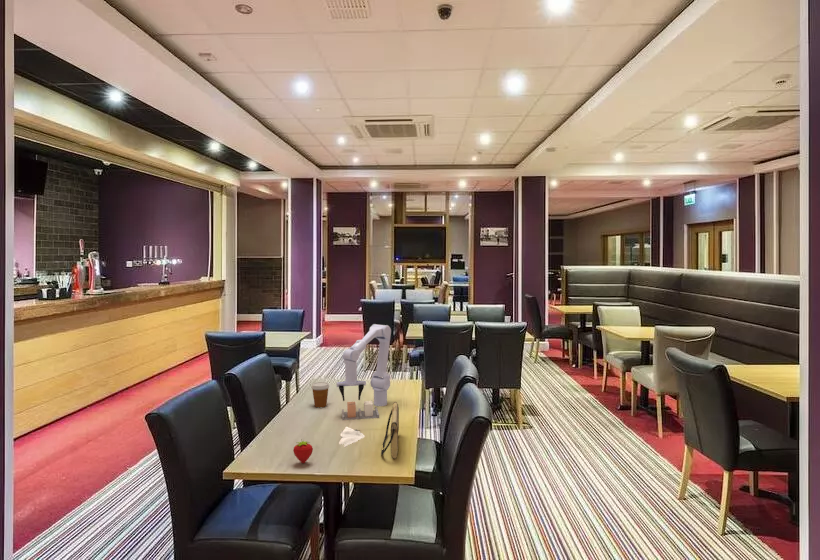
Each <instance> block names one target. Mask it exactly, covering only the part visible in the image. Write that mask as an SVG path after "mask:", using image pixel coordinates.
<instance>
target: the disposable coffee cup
mask: <svg viewBox="0 0 820 560" xmlns="http://www.w3.org/2000/svg"><path fill="white" fill-rule="evenodd" d="M329 387H330V384H329V383H328V382H325V381H323V382H322V381H321V382H313V383H312V385H311V390H312V396H313V403H314V407H315V408H317V407H319V408H320V407H322V408H326V407H327V405H328V395H329ZM325 406H326V407H325ZM320 409H321V408H320Z"/></svg>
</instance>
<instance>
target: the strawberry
mask: <svg viewBox="0 0 820 560" xmlns="http://www.w3.org/2000/svg"><path fill="white" fill-rule="evenodd" d="M313 451H314V448H313V446H312V444H310V443H309V441H308V440H307V441H304V440H303V438H301V441H298V442H296V445H295V446H294V447H293V454H294V456H295V457H296V459H297V460H298V461H299V462H300V463H301V464H306V463H307V461H308V460H309V459H310V457H311V456H312V454H313Z"/></svg>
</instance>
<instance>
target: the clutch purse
mask: <svg viewBox="0 0 820 560" xmlns="http://www.w3.org/2000/svg"><path fill="white" fill-rule="evenodd" d="M399 410H400V407H399V404H398V402H396V401H395V402H393V404H392V409H391V410H390V413H389V416H388V420H387V422H386V423H387V425H386V427H385V428H386V429H385V436H384V438H383V442H382V445H383V447H384V449H383V450H382V449H381V450H380V451H381V452H380V455H381V456H382V455H384V454H385V452H386V451H387V450H388V448H389V446H390V455H391V458H392V459H394V460H395V459H397V457H398V455H399V432H400V431H399V430H400V420H399V419H400V415H399V414H400V411H399ZM390 422H391V423H390ZM389 426H390V439H389V442H388V444H387V445H386V441H387V438H388V433H389ZM385 445H386V446H385Z"/></svg>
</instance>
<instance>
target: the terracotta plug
mask: <svg viewBox="0 0 820 560" xmlns="http://www.w3.org/2000/svg"><path fill="white" fill-rule="evenodd" d="M346 405H347V406H346V407H347V411H346V412H347V415H348V418H350V417H356V411H357V407H356V406H357V405H356V401H347V403H346Z"/></svg>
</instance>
